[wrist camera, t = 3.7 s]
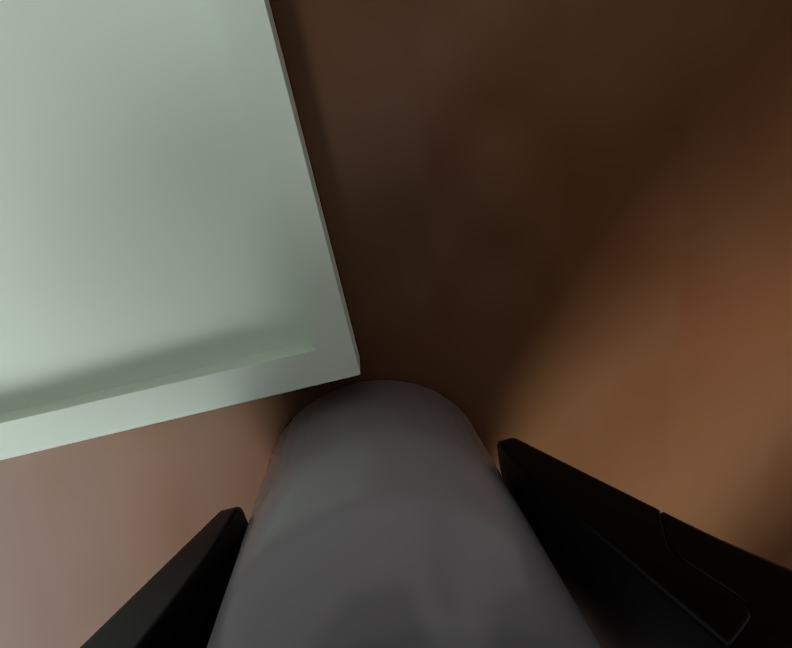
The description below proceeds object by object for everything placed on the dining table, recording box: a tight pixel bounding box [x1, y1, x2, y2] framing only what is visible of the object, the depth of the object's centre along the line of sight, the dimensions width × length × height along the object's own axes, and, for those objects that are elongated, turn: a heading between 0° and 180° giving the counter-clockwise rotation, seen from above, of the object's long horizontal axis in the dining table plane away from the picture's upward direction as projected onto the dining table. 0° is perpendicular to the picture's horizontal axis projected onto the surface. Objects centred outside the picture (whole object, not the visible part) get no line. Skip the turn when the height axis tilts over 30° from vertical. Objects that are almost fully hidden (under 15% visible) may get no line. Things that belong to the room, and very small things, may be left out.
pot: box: [207, 380, 601, 648], centre depth 7 cm, size 6×6×7 cm
